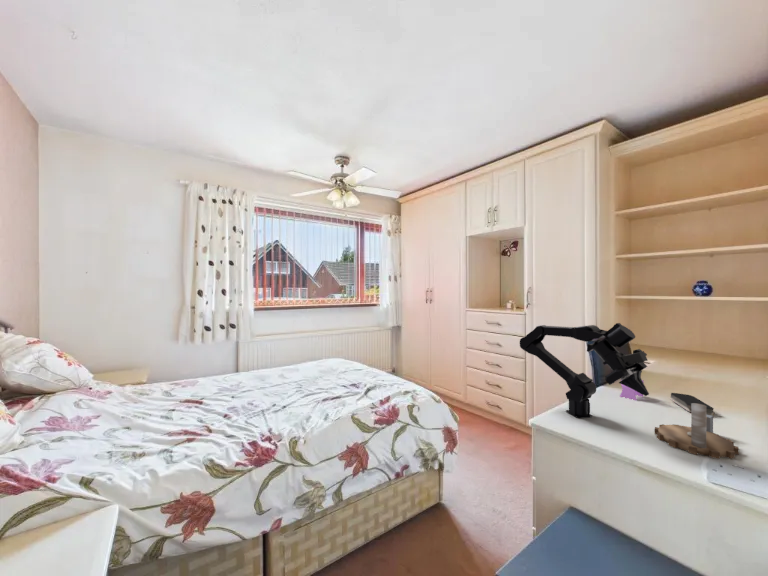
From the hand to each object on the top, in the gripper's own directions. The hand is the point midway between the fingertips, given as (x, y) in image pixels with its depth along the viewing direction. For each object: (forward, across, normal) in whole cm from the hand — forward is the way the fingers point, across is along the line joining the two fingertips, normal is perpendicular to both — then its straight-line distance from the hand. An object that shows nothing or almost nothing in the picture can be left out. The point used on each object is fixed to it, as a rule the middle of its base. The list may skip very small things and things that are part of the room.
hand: (647, 395), depth 105 cm
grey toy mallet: (+17, +17, +3) cm, 24 cm away
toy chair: (-3, +40, +24) cm, 47 cm away
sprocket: (+16, +6, +2) cm, 18 cm away
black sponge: (+10, +44, +11) cm, 47 cm away
